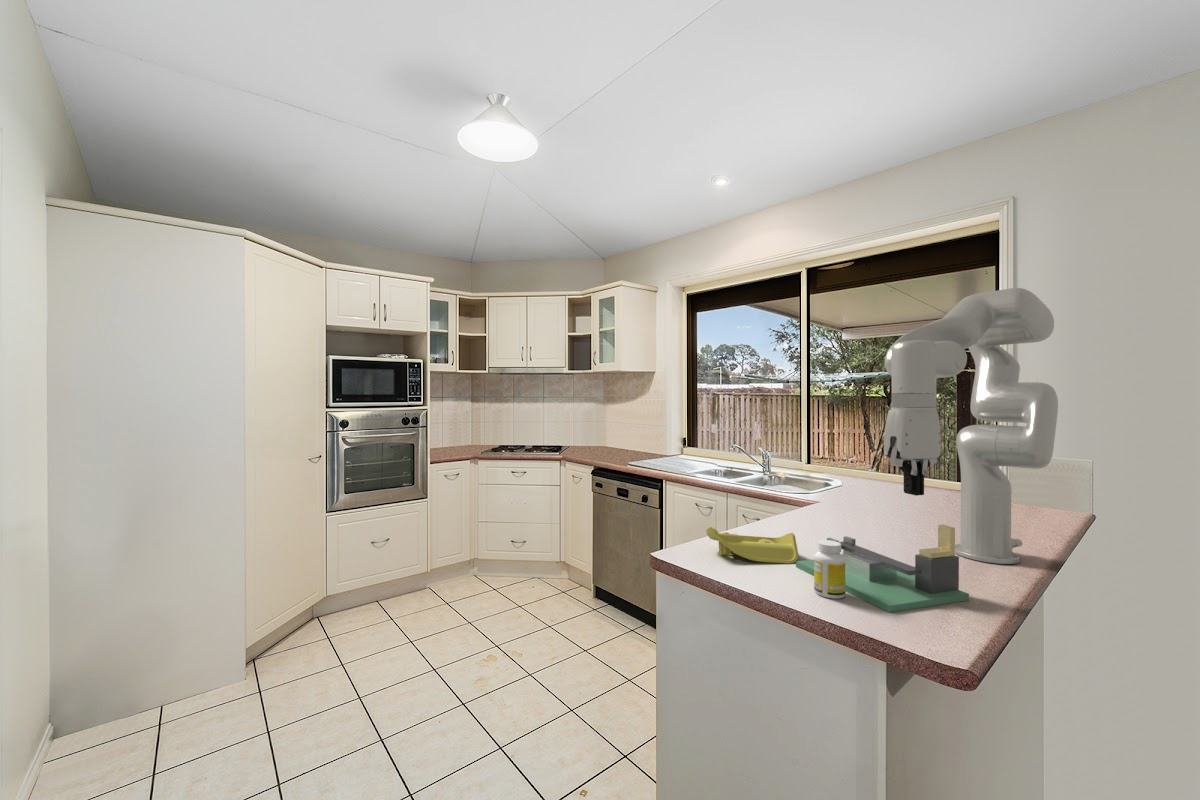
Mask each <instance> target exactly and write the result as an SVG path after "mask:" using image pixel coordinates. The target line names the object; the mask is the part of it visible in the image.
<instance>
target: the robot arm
mask: <svg viewBox="0 0 1200 800" xmlns="http://www.w3.org/2000/svg"><path fill="white" fill-rule="evenodd" d="M1054 330H1055V319H1054V315H1053V313H1052V311H1051V310H1050V308H1049V307H1048V306H1047V305H1046V304H1045V303H1044V302H1043V301H1042V300H1041V299H1040V298H1039V297H1038V295H1036V294H1034V292H1032V291H1030V290H1028V289H1026V288H1022V287H1011V288H1006V289H1005V288H1004V289H998V290H991V291H987V292H978V293H974V294H971V295H968V296H965V297H964V298H963V299H961V300H960V301H959V302H957V303H956V305H955V306H954V307H953V308H951V309H950V310H949V312H948V313H946V314H945V315H944V316H943V317H942V318H939V319H937V320H934V321H932V322H929V323H927V324H925V325H922V326H920V327H917V328H915V329H911V331H908V332H907V333H905V334H903V335H901V336H900V337H899V338H898V339H896V341H895V342H893V343H892V344H891V346H890V347H889V348H888V350H887V352H886V354H885V356H884V368H885V370H886V372H887V374H888V375H889V376H891V409H888V412H887V414H886V419H885V427H884V435H883V437H884V438H883V453H884V457H886V458H889V464H890V466H894V467H898V468H899V470H900V473H901V474H903V493H904V494H907V495H912V496H916V497H917V496H924V495H925V476H926V475H927V473H928V468H929V467H931V466H932V465H935V464H937V463H938V457H940V455H941V452H942V451H941V450H942V434H941V431H942V430H941V424H940V422H941V421H940V418H939V417H940V416H939V413H938V409H937V379H939V378H940V379H941V378H951V377H954V376H957V375H959V374H960V373H961V372H963V370H964V369H965V368H966V365H967V361H968V355H967V353H966V349H968V351H969V352H970V354H971V357H972V359H973V362H974V366H975V372H974V379H973V385H972V391H971V397H970V412H971V414H972V416H973V418H975V419H977V420H980V421H983V422H984V421H985V422H993V423H994V422H998V423H1021V424H1026V426H1024V425H1020V426H1019V425H1004V424H1002V425H1001V424H972V425H968V426H965V427H963V428H961V429H959V431H958V433H957V435H956V438H955V439H956V440H955V441H956V442H955V444H956V450H957V455H958V459H959V468H960V543H955V555H957V556H961V557H964V558H966V559H970V560H975V561H978V562H984V563H989V564H990V563H991V564H999V565H1013V564H1018V563H1020V561H1021V559H1020V556H1019V554H1017V553H1015V552H1013V549H1014V548H1018V547H1022V546H1023V541H1022V540H1021V539H1019V538H1012V484H1011V482H1010V480H1009V478H1008V476H1007V475H1006V474H1005V473H1004V471H1002V470H1001V468H1000V467H1011V468H1021V469H1033V470H1037V469H1044V468H1046V467H1047V466H1048V465H1049V464H1050V463H1051V460H1052V458H1053V453H1054V447H1055V440H1056V432H1057V431H1056V429H1057V421H1058V413H1059V400H1058V394H1057V393H1056V390H1055V389H1054V388H1053V387H1052V386H1051V385H1050V384H1048V383H1045V382H1038V381H1030V382H1029V381H1028V382H1026V381H1025V382H1021V381H1020V382H1019V379H1020V373H1021V372H1020V371H1021V365H1020V363H1019V362H1018V360H1017V359H1016V358H1015V357H1014V356H1013V355H1012V354H1011V353H1010V352H1008V351H1006V350H1005V349H1004V348H1003V347H1002V346H1005V345H1006V346H1007V345H1018V344H1032V343H1040V342H1043V341H1045V340H1047V339H1048V338H1049V337H1051V335H1052V334H1053V332H1054Z"/></svg>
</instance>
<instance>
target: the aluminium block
mask: <svg viewBox="0 0 1200 800" xmlns="http://www.w3.org/2000/svg"><path fill="white" fill-rule="evenodd" d="M841 555H842V556H844V558H845V571H847V572H849V573H851V574H853V575H856V576H858V577H860V578H863V579H865V580H867V581H877V580H885V579H893V578H897V571H896V570H894V569H891V568H889V567H886V566H884V565H881V564H879V563H876V562H874V561H871V560H869V559H866V558H864V557H861V556H859V555H856V554H854V553H851V552H848V553H843V552H841Z"/></svg>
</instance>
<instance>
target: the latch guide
mask: <svg viewBox="0 0 1200 800" xmlns="http://www.w3.org/2000/svg"><path fill="white" fill-rule="evenodd" d="M914 557H915V560H914V565H915V566H914V567H915V568H918V569H921V574H917V575H915V588H918V589H920V590H922V591H925V592H927V593H930V594H934V593H941V592H948V591H955V590H960V589H959V587H960V586H959V585H960V569H959V568H960V557H959V555H955V556H950V557H941V558H933V559H931V558H928V557H925V556H922V555H919V554H918V553H917V554H915V555H914Z"/></svg>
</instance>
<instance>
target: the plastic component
mask: <svg viewBox="0 0 1200 800" xmlns="http://www.w3.org/2000/svg"><path fill="white" fill-rule="evenodd" d="M705 531H706V535H707V537H708V538H709V539H710V540H713V541H717V542H718V553H719V555H721V556H733V555H738V556H739V557H741V558H744V559H747V560H750V561H753V562H756V563H757V562H759V563H770V564H771V563H772V564H785V565H787V564H788V565H789V564H794V563H796V561H797V560H798V558H799V551H798V550H799V549H798V545H797V540H796V534H795V533H794V532H789V533H786V534H784V535H782V536H779V537H765V536H755V535H754V536H750V535H740V534H737V533H729V532H718V530H717V529H716V527H713V526H710V527H708V528H706V530H705Z"/></svg>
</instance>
